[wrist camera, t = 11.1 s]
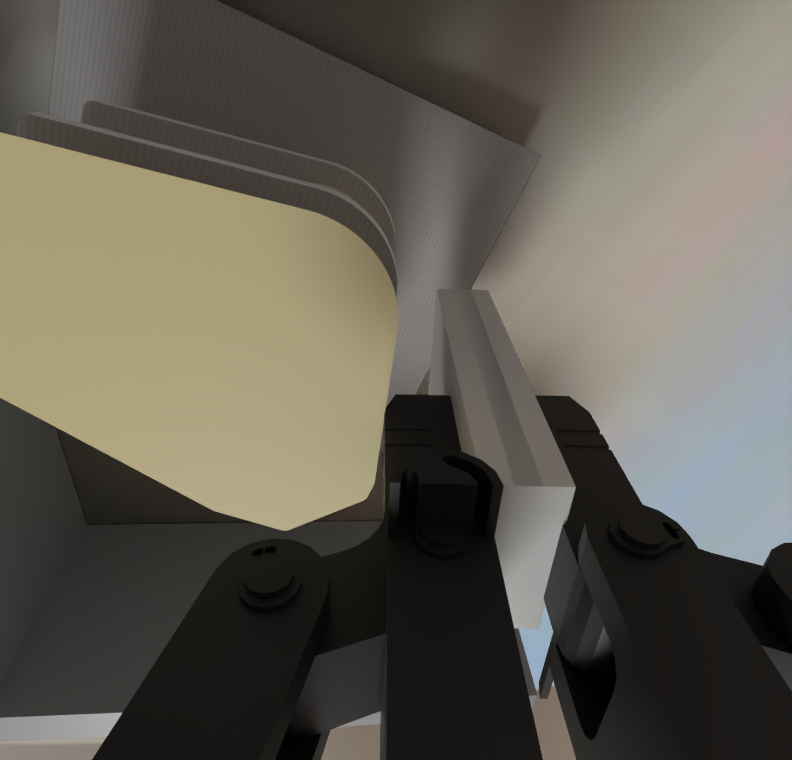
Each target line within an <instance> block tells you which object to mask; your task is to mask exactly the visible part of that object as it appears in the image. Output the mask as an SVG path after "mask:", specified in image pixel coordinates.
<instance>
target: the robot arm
mask: <svg viewBox="0 0 792 760" xmlns="http://www.w3.org/2000/svg"><path fill="white" fill-rule="evenodd" d="M544 605H546V608H547V612H548V615H549V618H550V622H551V625H552V629H553V635H552V639H551V642H550V646H549V649H548V653H547V656H546V660H545V663H544V667H543V670H542V674H541V677H540V680H539V693H540V698H548V695H549V692H550V689H551V686H552V682H553V680H554V684H555V687H556V690H557V694H558V698H559V701H560V704H561V708H562V711H563V715H564V718H565V722H566V725H567V729H568V732H569V736H570V739H571V743H572V746H573V749H574V753H575V756H576V760H792V543H783V544H781V545H779V546H778V547H776V548H774V549H772V550H771V552H770V554H769V556H768V557H767V559H766V561H765V563H764V565H763V566H761V565H757V564H753V563H749V562H745V561H741V560H737V559H733V558H729V557H725V556H721V555H717V554H713V553H710V552H707V551H704V550H701V549H698V547H697V546H696V544H695V543H694V541H693V540H692V538H691V537H690V536H689V535H688V534H687V533H686V531H685V530H684V529H683V528H682V527H681V526H680V525H679V524H678V523H677V522H676V521H674V520H672V519H671V518H669V517H668V516H666V515H665V514H663V513H662V512H660V511H658V510H655V509H653V508H650V507H647V506H645V505H642V503H641V501H640V499H639V498H638V496H637V494H636V493H635V491H634V489H633V487H632V486H631V484H630V482H629V480H628V479H627V477H626V475H625V473H624V472H623V470H622V468H621V466H620V465H619V463H618V461H617V460H616V458H615V456H614V454H613V453H612V451H611V450H609V446H608V444H607V442H606V440H605V439H604V437H603V435H602V434H600V430H599V428H598V427H597V425H596V423H595V421H594V420H593V418H592V416H591V414H590V413H589V412H588V411H587V410H586V409H585V408H583V407H582V406H581V405H579V404H578V403H577V402H576V401H574V400H573V399H572V398H571V397H569V396H536V395H535V394H534V392H533V390H532V388H531V385H530V383H529V381H528V379H527V376H526V374H525V372H524V370H523V367H522V365H521V363H520V361H519V358H518V356H517V354H516V352H515V350H514V347H513V345H512V343H511V341H510V338H509V336H508V334H507V332H506V329H505V327H504V325H503V323H502V320H501V318H500V316H499V314H498V312H497V309H496V307H495V305H494V303H493V300H492V298H491V296H490V294H489V291H488V290H468V289H437V292H436V304H435V316H434V328H433V340H432V352H431V364H430V376H429V388H428V395H407V394H395V396H394V397H393V399H392V400H391V401H390V403H389V404H388V405H387V407H386V411H385V413H384V431H383V458H382V522H381V524H380V526H379V528H378V529H377V530H376V531H375V532H374V533H373V534H372V535H371V536H370V538H368V539H367V540H365V541H364V542H362V543H360V544H359V545H357V546H355V547H352V548H350V549H347V550H344V551H341V552H338V553H334V554H330V555H326V556H322V557H321V556H320V555H319V554H318V553H317V552H316V551H315V550H314V549H313V548H312V547H310V546H307V545H305V544H302V543H300V542H297V541H295V540H291V539H273V538H271V539H266V540H262V541H258V542H254V543H249V544H248V545H246V546H244V547H242V548H240V549H239V550H237V551H235V552H233V553H231V554H230V555H229V556H228V557H227V558H226V559H225V560H224V561H223V562H222V563H221V564H220V565H219V566H218V568H217V569H216V570H215V571H214V573H213V574H212V576H211V577H210V579H209V580H208V582H207V583H206V585H205V586H204V588H203V589H202V591H201V593H200V594H199V596H198V597H197V599H196V600H195V602H194V603H193V605H192V606H191V608H190V610H189V611H188V613H187V614H186V616H185V617H184V619H183V620H182V622H181V623H180V625H179V626H178V628H177V630H176V631H175V633H174V634H173V636H172V637H171V639H170V640H169V642H168V643H167V645H166V647H165V648H164V650H163V651H162V653H161V654H160V656H159V657H158V659H157V660H156V662H155V663H154V665H153V667H152V668H151V670H150V671H149V673H148V674H147V676H146V677H145V679H144V680H143V682H142V684H141V685H140V687H139V688H138V690H137V691H136V693H135V694H134V696H133V697H132V699H131V700H130V702H129V704H128V705H127V707H126V708H125V710H124V711H123V713H122V714H121V716H120V717H119V719H118V721H117V722H116V724H115V725H114V727H113V728H112V730H111V731H110V733H109V734H108V736H107V738H106V739H105V741H104V742H103V744H102V745H101V747H100V748H99V750H98V752H97V753H96V755H95V756H94V758H93V759H92V760H321V757H322V754H323V751H324V748H325V745H326V741H327V738H328V736H329V733H330V730H331V729H333V728H336V727H339V726H342V725H344V724H347V723H350V722H352V721H355V720H358V719H361V718H363V717H366V716H369V715H371V714H374V713H377V712H380V711H381V718H380V760H543V759H542V754H541V750H540V745H539V740H538V736H537V731H536V727H535V722H534V717H533V713H532V708H531V703H530V699H529V694H528V690H527V685H526V680H525V676H524V671H523V666H522V662H521V657H520V652H519V648H518V643H517V639H516V634H515V629H514V628H523V629H538V628H539V624H540V620H541V617H542V613H543V609H544Z"/></svg>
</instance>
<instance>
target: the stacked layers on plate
mask: <svg viewBox="0 0 792 760" xmlns="http://www.w3.org/2000/svg"><path fill="white" fill-rule="evenodd" d="M540 156H541V155H539V154H537V153H535V152H533V151H531V150H528V149H526V148H524V147H522V146H520V145H518V144H516V143H514V142H512V141H510V140H508V139H505V138H503V137H501V136H499V135H497V134H495V133H493V132H491V131H489V130H487V129H485V128H483V127H480V126H478V125H476V124H474V123H472V122H470V121H468V120H466V119H464V118H462V117H460V116H457V115H455V114H453V113H451V112H449V111H447V110H445V109H443V108H441V107H439V106H437V105H435V104H432V103H430V102H428V101H426V100H424V99H422V98H420V97H418V96H416V95H414V94H412V93H410V92H407V91H405V90H403V89H401V88H399V87H397V86H395V85H393V84H391V83H389V82H387V81H384V80H382V79H380V78H378V77H376V76H374V75H372V74H370V73H368V72H366V71H364V70H362V69H359V68H357V67H355V66H353V65H351V64H349V63H347V62H345V61H343V60H341V59H339V58H336V57H334V56H332V55H330V54H328V53H326V52H324V51H322V50H320V49H318V48H316V47H314V46H311V45H309V44H307V43H305V42H303V41H301V40H299V39H297V38H295V37H293V36H291V35H289V34H286V33H284V32H282V31H280V30H278V29H276V28H274V27H272V26H270V25H268V24H266V23H263V22H261V21H259V20H257V19H255V18H253V17H251V16H249V15H247V14H245V13H243V12H241V11H238V10H236V9H234V8H232V7H230V6H228V5H226V4H224V3H222V2H220V1H218V0H60V5H59V15H58V24H57V34H56V44H55V54H54V64H53V74H52V84H51V94H50V103H49V113H48V114H45V113H41V112H32V113H27V114H23V115H21V116H20V117H19V118H18V121H17V132H16V136H13V135H9V134H5V133H1V132H0V398H2V399H4V400H6V401H7V402H9V403H11V404H13V405H15V406H17V407H19V408H21V409H23V410H24V411H26V412H28V413H30V414H32V415H34V416H36V417H38V418H39V419H41V420H43V421H45V422H47V423H49V424H51V425H53V426H55V427H56V428H58V429H60V430H62V431H64V432H66V433H68V434H70V435H72V436H73V437H75V438H77V439H79V440H81V441H83V442H85V443H87V444H88V445H90V446H92V447H94V448H96V449H98V450H100V451H102V452H104V453H105V454H107V455H109V456H111V457H113V458H115V459H117V460H119V461H121V462H122V463H124V464H126V465H128V466H130V467H132V468H134V469H136V470H137V471H139V472H141V473H143V474H145V475H147V476H149V477H151V478H153V479H154V480H156V481H158V482H160V483H162V484H164V485H166V486H168V487H169V488H171V489H173V490H175V491H177V492H179V493H181V494H183V495H185V496H186V497H188V498H190V499H192V500H194V501H196V502H198V503H200V504H202V505H203V506H205V507H207V508H209V509H211V510H213V511H216V512H219V513H223V514H226V515H230V516H233V517H237V518H240V519H244V520H247V521H251V522H254V523H258V524H261V525H265V526H268V527H272V528H275V529H279V530H283V531H287V530H290V529H293V528H295V527H298V526H301V525H303V524H306V523H308V522H311V521H313V520H316V519H318V518H321V517H323V516H326V515H328V514H331V513H334V512H336V511H339V510H341V509H344V508H346V507H349V506H351V505H354V504H356V503H359V502H361V501H364V500H365V499H366V498H367V497H368V495H369V493H370V491H371V490H372V488H373V486H374V483H375V477H376V470H377V464H378V457H379V451H382V452H383V431H384V413H385V411H386V407H387V405H388V404H389V403H390V401H391V400H392V399H393V397H394V396H395V394H407V395H416V393H417V391H418V389H419V387H420V385H421V383H422V381H423V379H424V377H425V376H426V374H427V372H428V370H429V368H430V364H431V352H432V340H433V328H434V316H435V304H436V292H437V289H468V290H471V288H472V286H473V284H474V282H475V280H476V278H477V276H478V274H479V273H480V271H481V269H482V267H483V265H484V263H485V261H486V259H487V257H488V255H489V254H490V252H491V250H492V248H493V246H494V244H495V242H496V240H497V238H498V236H499V234H500V233H501V231H502V229H503V227H504V225H505V223H506V221H507V219H508V217H509V215H510V213H511V212H512V210H513V208H514V206H515V204H516V202H517V200H518V198H519V196H520V194H521V193H522V191H523V189H524V187H525V185H526V183H527V181H528V179H529V177H530V175H531V173H532V172H533V170H534V168H535V166H536V164H537V162H538V160H539V158H540Z"/></svg>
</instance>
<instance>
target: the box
mask: <svg viewBox="0 0 792 760" xmlns="http://www.w3.org/2000/svg"><path fill="white" fill-rule="evenodd" d="M381 522H382V521H326V522H308V523H306V524H303V525H301V526H298V527H295V528H293V529H290V530H287V531H283V530H279V529H275V528H272V527H268V526H265V525H261V524H258V523H188V524H119V525H87V524H86V521H85V518H84V514H83V511H82V508H81V505H80V502H79V499H78V496H77V493H76V490H75V486H74V483H73V480H72V477H71V474H70V471H69V468H68V465H67V462H66V459H65V455H64V452H63V449H62V446H61V443H60V440H59V437H58V434H57V431H56V427H55V426H53V425H51V424H49V423H47V422H45V421H43V420H41V419H39V418H38V417H36V416H34V415H32V414H30V413H28V412H26V411H24V410H23V409H21V408H19V407H17V406H15V405H13V404H11V403H9V402H7V401H6V400H4V399H2V398H0V741H19V740H41V739H64V738H86V737H107V736H108V734H109V733H110V731H111V730H112V728H113V727H114V725H115V724H116V722H117V721H118V719H119V717H120V716H121V714H122V713H123V711H124V710H125V708H126V707H127V705H128V704H129V702H130V700H131V699H132V697H133V696H134V694H135V693H136V691H137V690H138V688H139V687H140V685H141V684H142V682H143V680H144V679H145V677H146V676H147V674H148V673H149V671H150V670H151V668H152V667H153V665H154V663H155V662H156V660H157V659H158V657H159V656H160V654H161V653H162V651H163V650H164V648H165V647H166V645H167V643H168V642H169V640H170V639H171V637H172V636H173V634H174V633H175V631H176V630H177V628H178V626H179V625H180V623H181V622H182V620H183V619H184V617H185V616H186V614H187V613H188V611H189V610H190V608H191V606H192V605H193V603H194V602H195V600H196V599H197V597H198V596H199V594H200V593H201V591H202V589H203V588H204V586H205V585H206V583H207V582H208V580H209V579H210V577H211V576H212V574H213V573H214V571H215V570H216V569H217V568H218V566H219V565H220V564H221V563H222V562H223V561H224V560H225V559H226V558H227V557H228V556H229V555H230V554H231V553H233V552H235V551H237V550H239V549H240V548H242V547H244V546H246V545H248V544H249V543H254V542H258V541H262V540H266V539H271V538H273V539H291V540H295V541H297V542H300V543H302V544H305V545H307V546H310V547H312V548H313V549H314V550H315V551H316V552H317V553H318V554H319V555H320V556H321V557H322V556H326V555H330V554H334V553H338V552H341V551H344V550H347V549H350V548H352V547H355V546H357V545H359V544H360V543H362V542H364V541H365V540H367V539H368V538H370V536H371V535H372V534H373V533H374V532H375V531H376V530H377V529H378V528H379V526H380V524H381ZM514 629H515V634H516V639H517V643H518V648H519V652H520V657H521V662H522V666H523V671H524V676H525V680H526V685H527V690H528V694H529V699H530V703H531V708H532V710H533V707H534V704H535V701H536V698H537V693H536V689H535V686H534V682H533V678H532V675H531V671H530V668H529V664H528V661H527V657H526V654H525V650H524V647H523V643H522V640H521V636H520V633H519V629H518V628H514ZM380 718H381V711H380V712H377V713H374V714H371V715H369V716H366V717H363V718H361V719H358V720H355V721H352V722H350V723H347V724H344V725H342V726H352V725H373V724H380Z"/></svg>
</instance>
